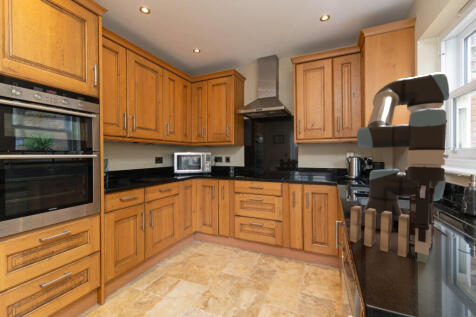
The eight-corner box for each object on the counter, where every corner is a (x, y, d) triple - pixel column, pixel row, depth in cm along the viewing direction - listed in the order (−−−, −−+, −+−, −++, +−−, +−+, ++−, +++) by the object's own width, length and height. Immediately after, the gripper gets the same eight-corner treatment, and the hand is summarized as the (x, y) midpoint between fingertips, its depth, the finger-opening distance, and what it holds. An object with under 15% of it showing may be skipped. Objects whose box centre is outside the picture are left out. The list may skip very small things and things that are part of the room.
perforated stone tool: (349, 226, 82) (350, 209, 82) (350, 222, 87) (350, 206, 87) (395, 234, 74) (396, 215, 74) (394, 230, 79) (394, 212, 79)
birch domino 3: (383, 245, 64) (385, 210, 64) (390, 247, 62) (391, 212, 62) (380, 249, 60) (381, 213, 60) (387, 251, 59) (388, 214, 59)
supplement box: (414, 237, 71) (416, 193, 71) (433, 242, 67) (434, 195, 67) (407, 243, 66) (408, 195, 66) (427, 248, 62) (428, 197, 62)
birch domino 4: (400, 249, 61) (401, 213, 61) (408, 252, 59) (409, 215, 59) (397, 254, 57) (398, 216, 57) (405, 257, 56) (406, 218, 56)
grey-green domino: (419, 255, 58) (420, 217, 58) (427, 257, 56) (429, 218, 56) (417, 260, 54) (418, 220, 54) (426, 263, 53) (427, 222, 53)
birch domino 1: (354, 237, 70) (355, 205, 70) (360, 238, 69) (361, 206, 69) (349, 240, 67) (350, 207, 66) (355, 242, 65) (356, 209, 65)
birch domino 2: (368, 240, 67) (369, 208, 67) (375, 242, 66) (376, 209, 66) (364, 245, 63) (365, 210, 63) (370, 246, 62) (371, 211, 62)
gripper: (444, 167, 46) (440, 267, 46) (445, 166, 59) (443, 244, 59) (402, 165, 52) (399, 254, 52) (412, 165, 64) (410, 236, 64)
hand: (422, 249), depth 55 cm, fingers open, 6 cm apart
